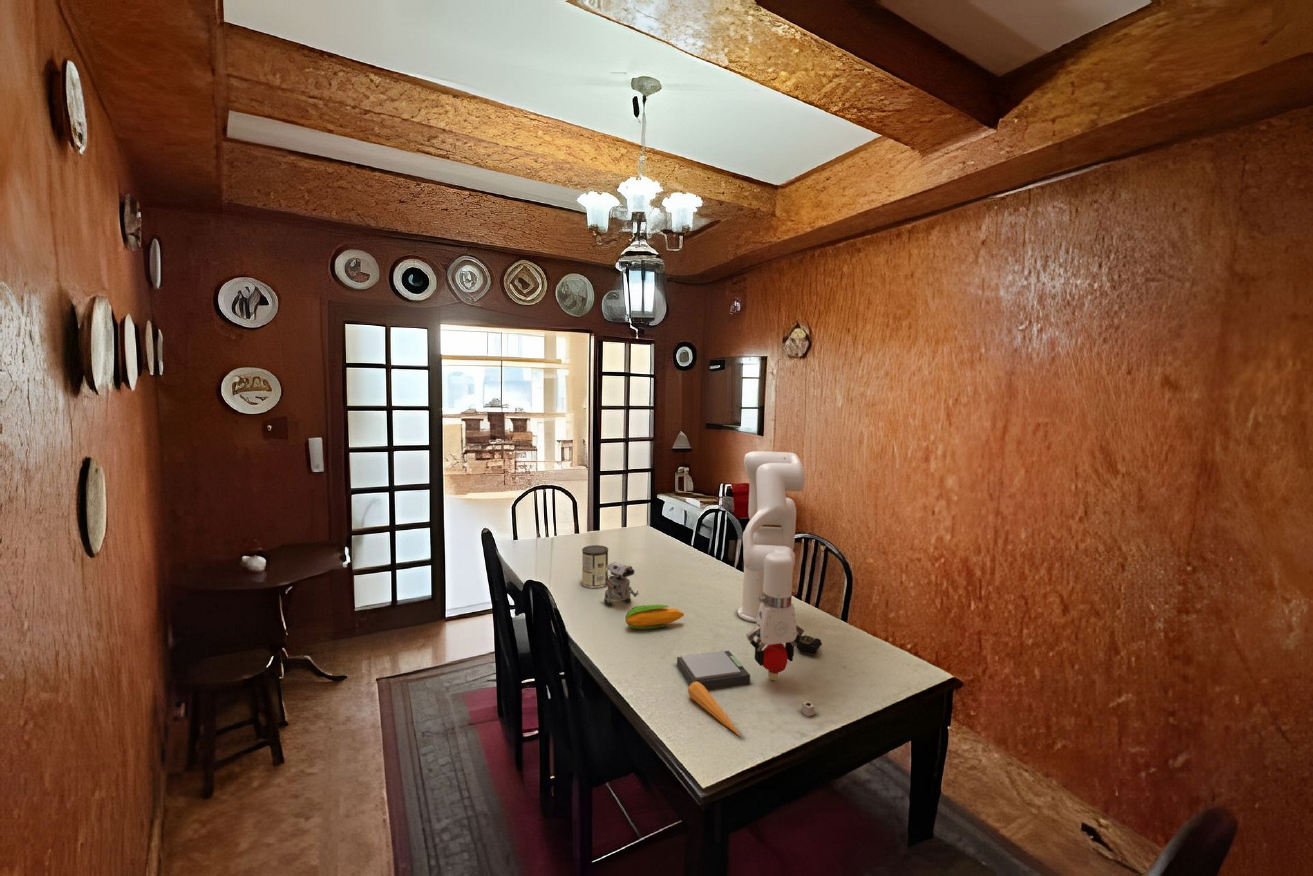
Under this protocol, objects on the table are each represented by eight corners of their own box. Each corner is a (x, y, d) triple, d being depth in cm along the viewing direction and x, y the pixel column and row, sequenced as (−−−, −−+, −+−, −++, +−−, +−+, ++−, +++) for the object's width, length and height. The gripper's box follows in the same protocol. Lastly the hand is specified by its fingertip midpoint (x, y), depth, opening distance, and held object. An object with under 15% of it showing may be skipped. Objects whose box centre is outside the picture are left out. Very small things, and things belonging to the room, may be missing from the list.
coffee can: (592, 577, 228) (593, 543, 227) (613, 582, 223) (613, 548, 222) (576, 584, 220) (576, 549, 218) (596, 590, 214) (597, 554, 213)
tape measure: (814, 659, 165) (815, 647, 164) (792, 652, 168) (793, 640, 168) (821, 650, 170) (822, 638, 170) (799, 643, 174) (800, 632, 174)
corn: (623, 602, 184) (680, 597, 189) (622, 623, 185) (679, 618, 190) (628, 613, 176) (687, 607, 182) (627, 635, 178) (686, 628, 183)
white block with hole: (801, 712, 138) (802, 702, 138) (808, 710, 139) (808, 700, 139) (807, 716, 136) (808, 707, 136) (814, 714, 137) (815, 705, 137)
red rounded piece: (779, 692, 146) (781, 655, 145) (754, 684, 150) (756, 648, 149) (791, 676, 154) (792, 642, 153) (767, 669, 158) (768, 635, 157)
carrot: (687, 698, 144) (683, 685, 142) (701, 688, 145) (697, 675, 144) (735, 750, 127) (731, 736, 125) (750, 738, 129) (746, 724, 127)
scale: (728, 658, 164) (728, 648, 163) (749, 683, 150) (750, 672, 150) (677, 665, 159) (677, 654, 159) (694, 691, 146) (694, 679, 145)
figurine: (615, 613, 194) (616, 571, 192) (602, 601, 204) (602, 561, 202) (638, 608, 198) (639, 567, 197) (624, 597, 208) (625, 558, 207)
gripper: (754, 608, 144) (751, 672, 146) (813, 602, 149) (809, 664, 151) (741, 597, 151) (739, 658, 153) (798, 591, 156) (795, 651, 158)
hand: (774, 661), depth 152 cm, fingers closed on red rounded piece, 8 cm apart
